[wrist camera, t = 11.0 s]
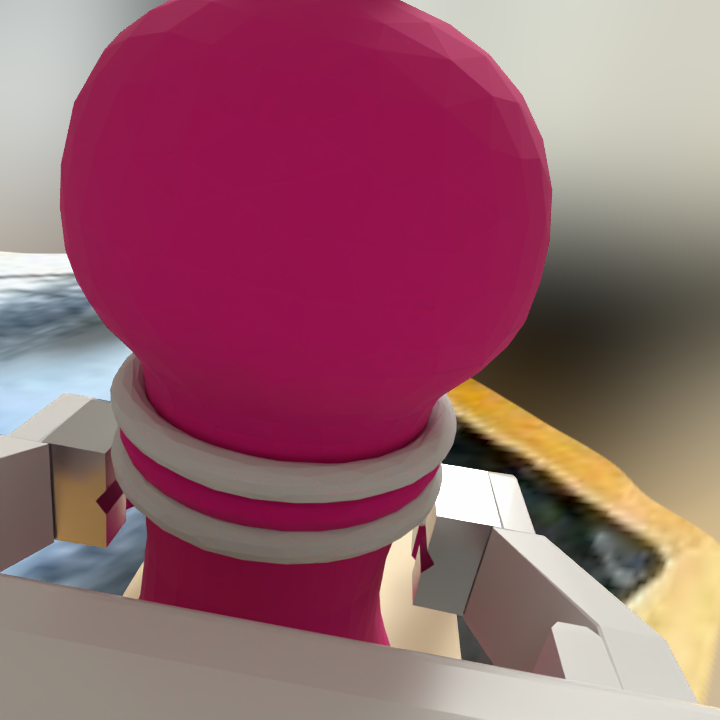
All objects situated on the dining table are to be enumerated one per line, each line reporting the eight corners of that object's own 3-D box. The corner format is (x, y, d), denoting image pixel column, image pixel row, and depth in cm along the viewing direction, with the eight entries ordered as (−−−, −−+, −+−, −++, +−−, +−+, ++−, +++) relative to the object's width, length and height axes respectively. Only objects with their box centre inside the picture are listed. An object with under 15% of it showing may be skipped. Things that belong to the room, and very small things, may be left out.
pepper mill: (348, 1169, 10) (1143, -529, 2) (-26, 1055, 10) (-455, -687, 3) (386, 757, 17) (617, -28, 9) (156, 698, 17) (185, -97, 9)
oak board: (97, 663, 24) (96, 638, 24) (214, 462, 39) (215, 444, 38) (457, 731, 24) (466, 708, 23) (438, 503, 39) (443, 486, 38)
